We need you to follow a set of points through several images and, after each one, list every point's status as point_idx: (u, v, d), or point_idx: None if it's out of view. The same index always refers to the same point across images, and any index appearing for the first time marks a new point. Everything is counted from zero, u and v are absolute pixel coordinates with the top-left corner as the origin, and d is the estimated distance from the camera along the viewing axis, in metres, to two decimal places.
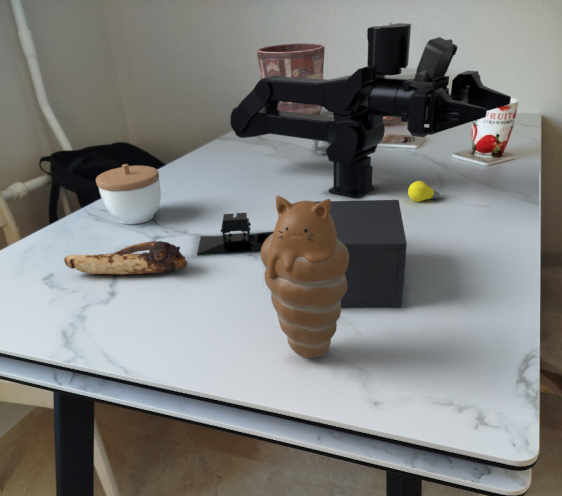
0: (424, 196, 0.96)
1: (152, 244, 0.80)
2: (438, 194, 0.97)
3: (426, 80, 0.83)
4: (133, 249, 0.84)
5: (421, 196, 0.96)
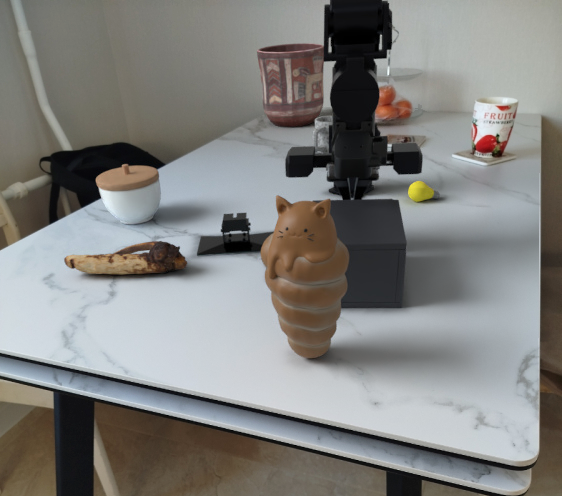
0: (424, 196, 0.96)
1: (152, 244, 0.80)
2: (438, 194, 0.97)
3: None
4: (133, 249, 0.84)
5: (421, 196, 0.96)
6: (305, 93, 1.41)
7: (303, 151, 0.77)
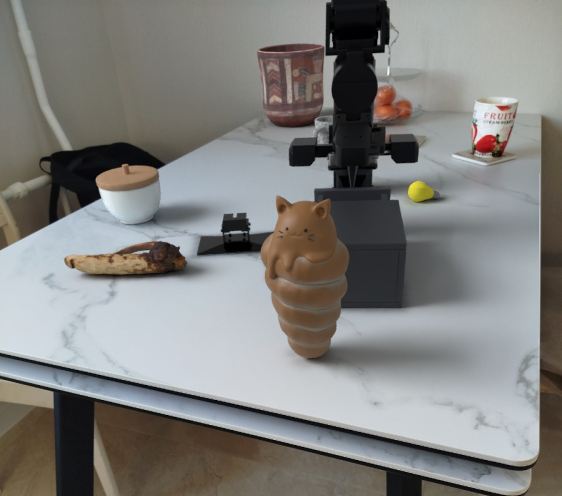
0: (424, 196, 0.96)
1: (152, 244, 0.80)
2: (438, 194, 0.97)
3: (334, 141, 0.78)
4: (133, 249, 0.84)
5: (421, 196, 0.96)
6: (305, 93, 1.41)
7: (306, 141, 0.81)
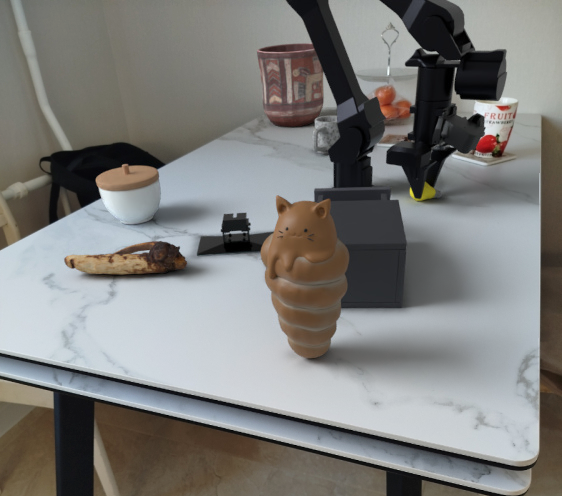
0: (425, 195, 0.96)
1: (152, 244, 0.80)
2: (440, 194, 0.97)
3: (442, 136, 0.88)
4: (133, 249, 0.84)
5: (422, 195, 0.96)
6: (305, 93, 1.41)
7: (411, 144, 0.87)
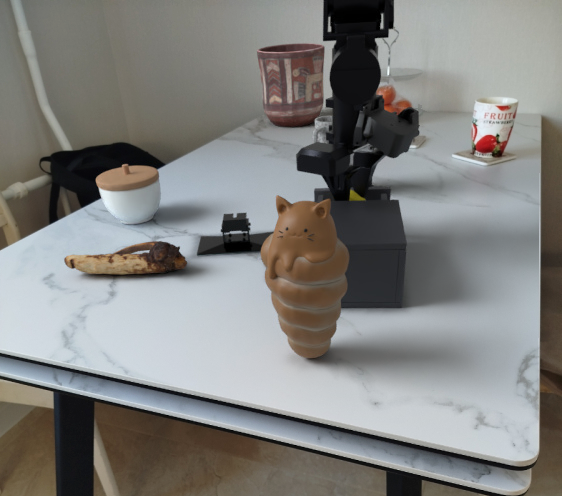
0: None
1: (152, 244, 0.80)
2: None
3: (364, 136, 0.70)
4: (133, 249, 0.84)
5: None
6: (305, 93, 1.41)
7: (326, 147, 0.70)
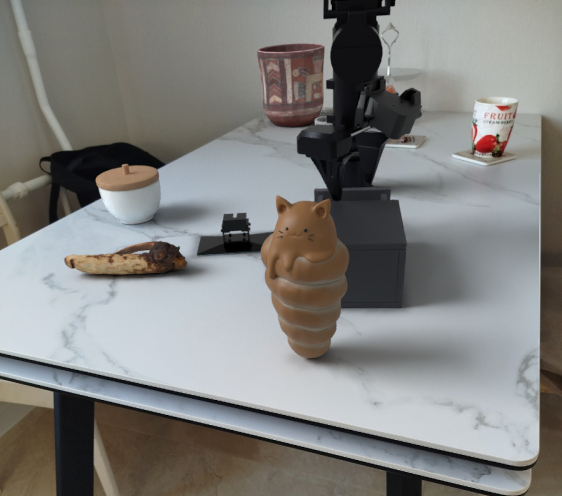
0: None
1: (152, 244, 0.80)
2: None
3: (366, 117, 0.69)
4: (133, 249, 0.84)
5: None
6: (305, 93, 1.41)
7: (326, 128, 0.68)
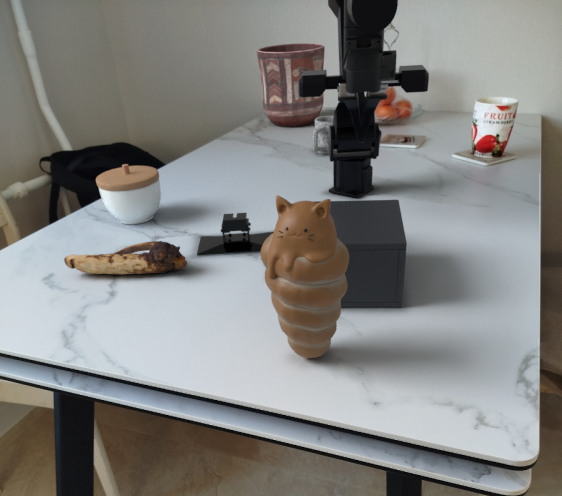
0: None
1: (152, 244, 0.80)
2: None
3: None
4: (133, 249, 0.84)
5: None
6: None
7: (316, 73, 0.81)
